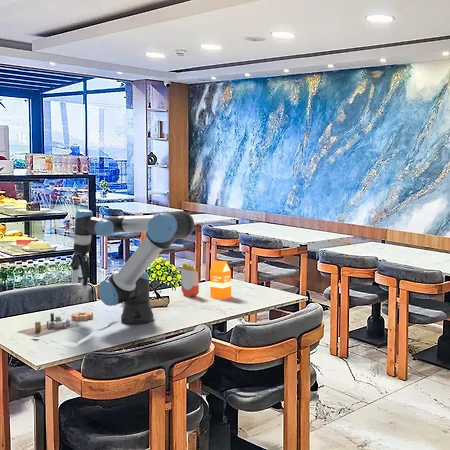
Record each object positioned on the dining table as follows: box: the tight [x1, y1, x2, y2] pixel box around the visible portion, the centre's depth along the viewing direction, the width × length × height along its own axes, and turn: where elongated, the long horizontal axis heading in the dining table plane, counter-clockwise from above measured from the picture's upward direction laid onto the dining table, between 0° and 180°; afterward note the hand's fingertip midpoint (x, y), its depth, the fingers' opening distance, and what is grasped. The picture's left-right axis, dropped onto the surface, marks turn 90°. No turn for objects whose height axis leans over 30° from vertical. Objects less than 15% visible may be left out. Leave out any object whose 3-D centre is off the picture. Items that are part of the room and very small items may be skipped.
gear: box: [46, 312, 71, 329], centre depth 255 cm, size 10×10×6 cm
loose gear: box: [70, 311, 94, 322], centre depth 268 cm, size 10×10×4 cm
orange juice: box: [209, 259, 232, 300], centre depth 315 cm, size 8×9×20 cm
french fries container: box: [180, 263, 200, 298], centre depth 319 cm, size 5×11×18 cm, turn 39°
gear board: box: [17, 316, 79, 342], centre depth 251 cm, size 14×22×6 cm, turn 143°
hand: (79, 287), depth 269 cm, fingers open, 13 cm apart
